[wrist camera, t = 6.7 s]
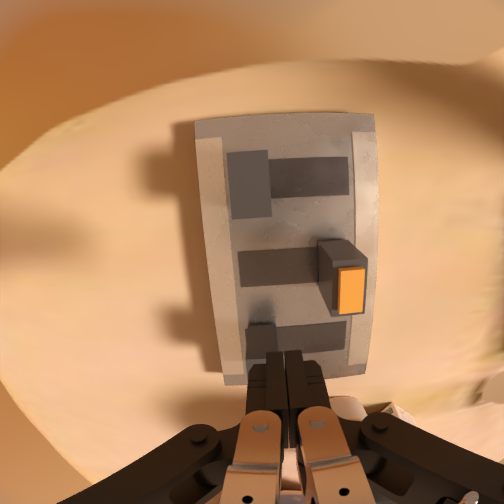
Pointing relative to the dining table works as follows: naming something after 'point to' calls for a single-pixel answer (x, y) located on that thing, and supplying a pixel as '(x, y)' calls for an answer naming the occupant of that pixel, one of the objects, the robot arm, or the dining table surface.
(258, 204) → the block
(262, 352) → the block
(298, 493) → the ramen bowl
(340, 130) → the panel
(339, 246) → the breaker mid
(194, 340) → the dining table surface
